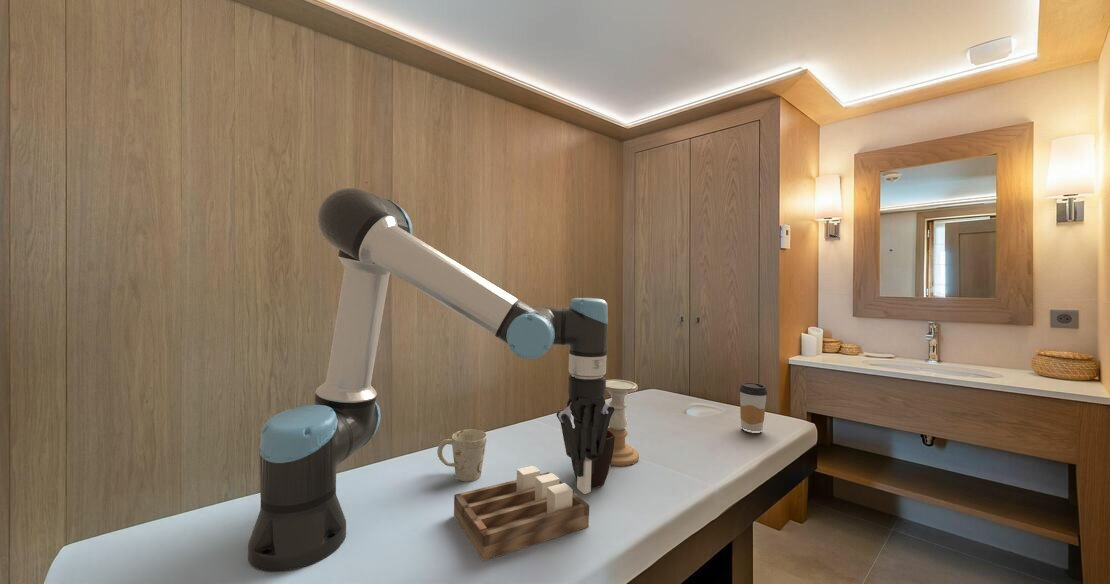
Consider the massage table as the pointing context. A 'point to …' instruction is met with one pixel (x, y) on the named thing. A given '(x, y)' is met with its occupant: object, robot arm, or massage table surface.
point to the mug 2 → (601, 462)
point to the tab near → (559, 497)
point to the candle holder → (620, 422)
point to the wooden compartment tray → (513, 518)
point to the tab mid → (544, 485)
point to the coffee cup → (752, 406)
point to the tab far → (526, 478)
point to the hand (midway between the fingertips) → (583, 490)
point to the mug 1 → (466, 453)
